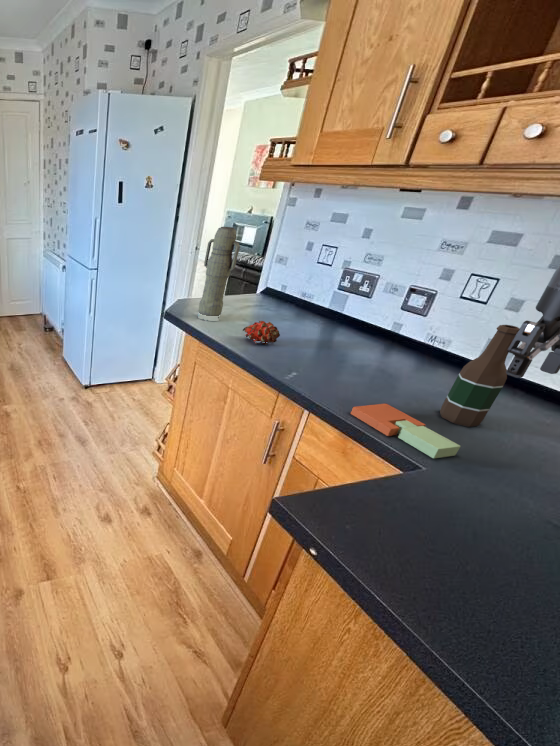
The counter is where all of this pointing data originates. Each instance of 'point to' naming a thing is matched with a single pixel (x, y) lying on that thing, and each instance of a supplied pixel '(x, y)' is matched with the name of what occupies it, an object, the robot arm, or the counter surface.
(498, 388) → the beer bottle
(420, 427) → the sage pad
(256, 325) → the dragon fruit
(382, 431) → the orange pad
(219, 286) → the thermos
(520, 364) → the robot arm
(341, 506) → the counter surface
